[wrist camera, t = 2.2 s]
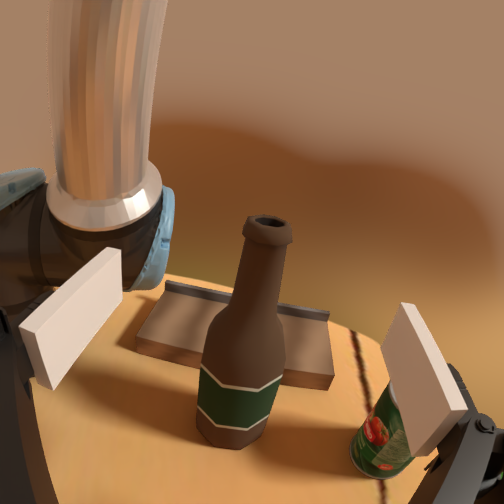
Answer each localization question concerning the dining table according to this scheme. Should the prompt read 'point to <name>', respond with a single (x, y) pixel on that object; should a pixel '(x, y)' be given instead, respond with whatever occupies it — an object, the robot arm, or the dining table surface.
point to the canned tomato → (382, 440)
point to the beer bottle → (246, 342)
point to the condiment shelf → (203, 312)
